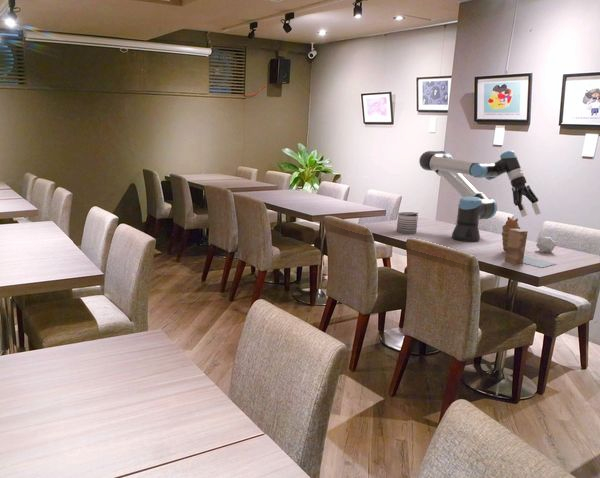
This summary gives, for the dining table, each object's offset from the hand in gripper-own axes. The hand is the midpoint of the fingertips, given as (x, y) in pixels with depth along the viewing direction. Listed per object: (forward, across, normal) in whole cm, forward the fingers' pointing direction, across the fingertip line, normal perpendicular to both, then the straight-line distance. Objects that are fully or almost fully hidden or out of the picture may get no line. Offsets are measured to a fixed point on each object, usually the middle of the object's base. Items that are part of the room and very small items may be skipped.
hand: (531, 215), depth 270 cm
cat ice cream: (+16, -21, +8) cm, 28 cm away
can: (-14, -34, +56) cm, 67 cm away
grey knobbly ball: (+20, 0, +1) cm, 20 cm away
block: (+23, -40, -4) cm, 46 cm away
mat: (+24, -28, -6) cm, 37 cm away
